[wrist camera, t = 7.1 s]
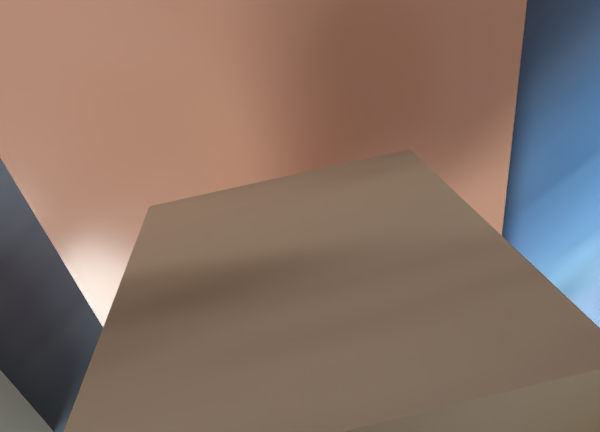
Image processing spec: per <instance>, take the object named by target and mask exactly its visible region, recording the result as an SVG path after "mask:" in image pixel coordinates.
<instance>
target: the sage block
mask: <svg viewBox="0 0 600 432" xmlns="http://www.w3.org/2000/svg"><path fill="white" fill-rule="evenodd" d="M0 432H54V431H53V430H52V429H51V428H50V427H49V425H48V424H47V423H46V422H45V421H44V420H43V419H42V417H41V416H40V415H39V414H38V413H37V412H36V410H35V409H34V408H33V407H32V406H31V405H30V404H29V402H28V401H27V400H26V399H25V398H24V397H23V395H22V394H21V393H20V392H19V391H18V390H17V388H16V387H15V386H14V385H13V384H12V383H11V382H10V380H9V379H8V378H7V377H6V376H5V375H4V373H3V372H2V371H1V370H0Z"/></svg>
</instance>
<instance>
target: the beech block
mask: <svg viewBox="0 0 600 432" xmlns="http://www.w3.org/2000/svg"><path fill="white" fill-rule="evenodd" d="M64 432H600V328H599V327H598V326H597V325H596V324H595V323H594V322H593V321H592V320H590V319H589V318H588V317H587V316H586V315H585V314H584V313H583V312H582V311H581V310H580V309H579V308H578V307H577V306H576V305H575V304H574V303H572V302H571V301H570V300H569V299H568V298H567V297H566V296H565V295H564V294H563V293H562V292H561V291H560V290H559V289H558V288H557V287H555V286H554V285H553V284H552V283H551V282H550V281H549V280H548V279H547V278H546V277H545V276H544V275H543V274H542V273H541V272H540V271H539V270H537V269H536V268H535V267H534V266H533V265H532V264H531V263H530V262H529V261H528V260H527V259H526V258H525V257H524V256H523V255H522V254H521V253H519V252H518V251H517V250H516V249H515V248H514V247H513V246H512V245H511V244H510V243H509V242H508V241H507V240H506V239H505V238H504V237H502V236H501V235H500V234H499V233H498V232H497V231H496V230H495V229H494V228H493V227H492V226H491V225H490V224H489V223H488V222H487V221H486V220H484V219H483V218H482V217H481V216H480V215H479V214H478V213H477V212H476V211H475V210H474V209H473V208H472V207H471V206H470V205H469V204H468V203H466V202H465V201H464V200H463V199H462V198H461V197H460V196H459V195H458V194H457V193H456V192H455V191H454V190H453V189H452V188H451V187H449V186H448V185H447V184H446V183H445V182H444V181H443V180H442V179H441V178H440V177H439V176H438V175H437V174H436V173H435V172H434V171H433V170H431V169H430V168H429V167H428V166H427V165H426V164H425V163H424V162H423V161H422V160H421V159H420V158H419V157H418V156H417V155H416V154H415V153H413V152H412V151H411V150H410V149H407V150H403V151H398V152H394V153H389V154H385V155H380V156H375V157H371V158H366V159H362V160H357V161H353V162H348V163H344V164H339V165H334V166H330V167H325V168H321V169H316V170H312V171H307V172H303V173H298V174H293V175H289V176H284V177H280V178H275V179H271V180H266V181H262V182H257V183H252V184H248V185H243V186H239V187H234V188H230V189H225V190H221V191H216V192H212V193H207V194H202V195H198V196H193V197H189V198H184V199H180V200H175V201H171V202H166V203H161V204H157V205H152V206H149V208H148V211H147V214H146V216H145V219H144V222H143V224H142V227H141V229H140V232H139V235H138V237H137V240H136V243H135V245H134V248H133V250H132V253H131V256H130V258H129V261H128V264H127V266H126V269H125V272H124V274H123V277H122V279H121V282H120V285H119V287H118V290H117V293H116V295H115V298H114V300H113V303H112V306H111V308H110V311H109V314H108V316H107V319H106V322H105V324H104V327H103V329H102V332H101V335H100V337H99V340H98V343H97V345H96V348H95V350H94V353H93V356H92V358H91V361H90V364H89V366H88V369H87V371H86V374H85V377H84V379H83V382H82V385H81V387H80V390H79V393H78V395H77V398H76V400H75V403H74V406H73V408H72V411H71V414H70V416H69V419H68V421H67V424H66V427H65V429H64Z"/></svg>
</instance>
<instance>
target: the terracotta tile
mask: <svg viewBox="0 0 600 432" xmlns="http://www.w3.org/2000/svg"><path fill="white" fill-rule="evenodd" d="M526 7H527V0H0V158H1V160H2V161H3V163H4V165H5V166H6V168H7V170H8V171H9V173H10V174H11V176H12V178H13V179H14V181H15V183H16V184H17V186H18V188H19V189H20V191H21V193H22V194H23V196H24V198H25V199H26V201H27V203H28V204H29V206H30V207H31V209H32V211H33V212H34V214H35V216H36V217H37V219H38V221H39V222H40V224H41V226H42V227H43V229H44V231H45V232H46V234H47V236H48V237H49V239H50V241H51V242H52V244H53V245H54V247H55V249H56V250H57V252H58V254H59V255H60V257H61V259H62V260H63V262H64V264H65V265H66V267H67V269H68V270H69V272H70V274H71V275H72V277H73V278H74V280H75V282H76V283H77V285H78V287H79V288H80V290H81V292H82V293H83V295H84V297H85V298H86V300H87V302H88V303H89V305H90V307H91V308H92V310H93V312H94V313H95V315H96V316H97V318H98V320H99V321H100V323H101V325H102V326H103V327H104V324H105V322H106V319H107V316H108V314H109V311H110V308H111V306H112V303H113V300H114V298H115V295H116V293H117V290H118V287H119V285H120V282H121V279H122V277H123V274H124V272H125V269H126V266H127V264H128V261H129V258H130V256H131V253H132V250H133V248H134V245H135V243H136V240H137V237H138V235H139V232H140V229H141V227H142V224H143V222H144V219H145V216H146V214H147V211H148V208H149V206H152V205H157V204H161V203H166V202H171V201H175V200H180V199H184V198H189V197H193V196H198V195H202V194H207V193H212V192H216V191H221V190H225V189H230V188H234V187H239V186H243V185H248V184H252V183H257V182H262V181H266V180H271V179H275V178H280V177H284V176H289V175H293V174H298V173H303V172H307V171H312V170H316V169H321V168H325V167H330V166H334V165H339V164H344V163H348V162H353V161H357V160H362V159H366V158H371V157H375V156H380V155H385V154H389V153H394V152H398V151H403V150H407V149H410V150H411V151H412V152H413V153H415V154H416V155H417V156H418V157H419V158H420V159H421V160H422V161H423V162H424V163H425V164H426V165H427V166H428V167H429V168H430V169H431V170H433V171H434V172H435V173H436V174H437V175H438V176H439V177H440V178H441V179H442V180H443V181H444V182H445V183H446V184H447V185H448V186H449V187H451V188H452V189H453V190H454V191H455V192H456V193H457V194H458V195H459V196H460V197H461V198H462V199H463V200H464V201H465V202H466V203H468V204H469V205H470V206H471V207H472V208H473V209H474V210H475V211H476V212H477V213H478V214H479V215H480V216H481V217H482V218H483V219H484V220H486V221H487V222H488V223H489V224H490V225H491V226H492V227H493V228H494V229H495V230H496V231H497V232H498V233H499V234H500V235H501V236H502V229H503V220H504V210H505V201H506V192H507V183H508V173H509V164H510V155H511V146H512V136H513V127H514V118H515V108H516V99H517V90H518V81H519V71H520V62H521V53H522V44H523V34H524V25H525V16H526Z"/></svg>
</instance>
